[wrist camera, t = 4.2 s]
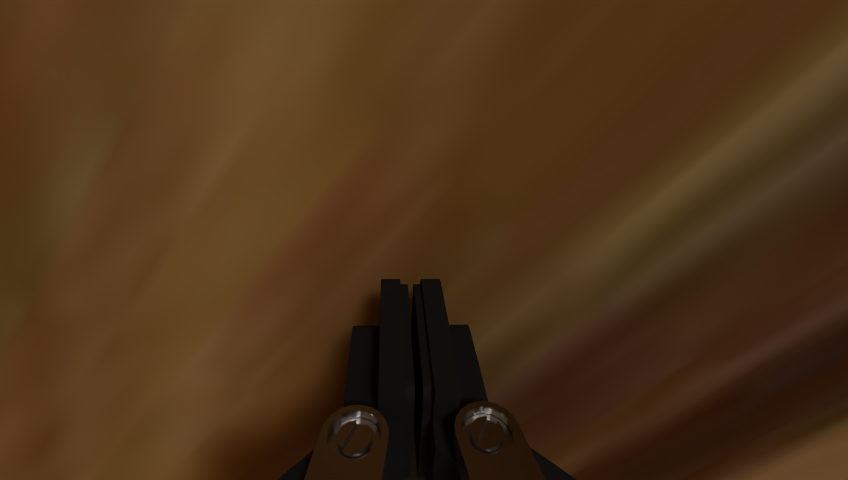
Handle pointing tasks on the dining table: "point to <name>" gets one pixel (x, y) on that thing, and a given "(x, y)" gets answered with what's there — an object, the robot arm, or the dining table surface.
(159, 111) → the dining table surface
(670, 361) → the dining table surface
